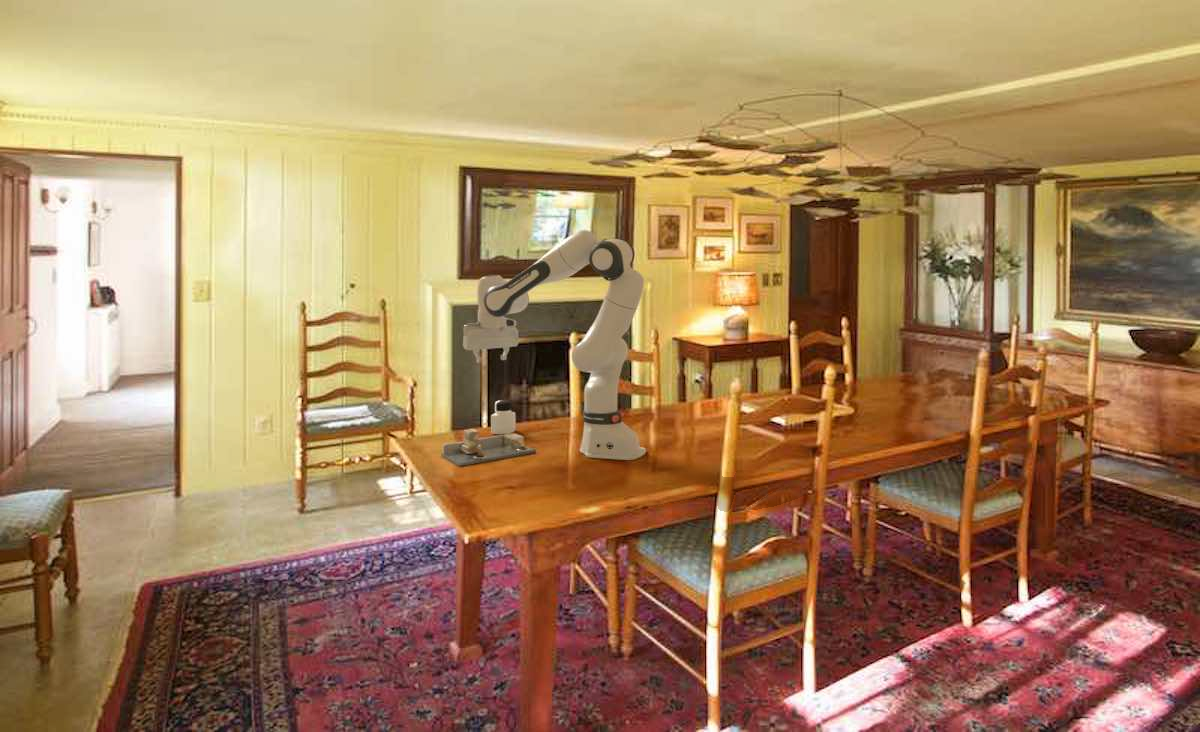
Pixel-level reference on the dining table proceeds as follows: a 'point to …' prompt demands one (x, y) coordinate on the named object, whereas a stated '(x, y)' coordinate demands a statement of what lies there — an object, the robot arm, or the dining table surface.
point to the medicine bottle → (503, 418)
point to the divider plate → (487, 449)
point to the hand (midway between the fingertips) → (491, 361)
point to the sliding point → (471, 442)
